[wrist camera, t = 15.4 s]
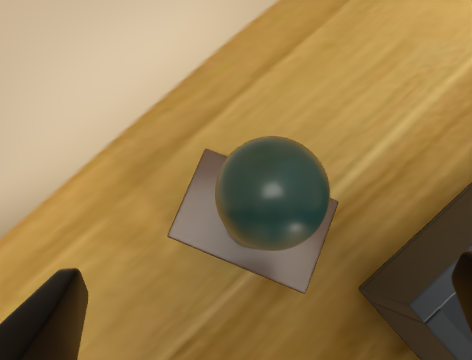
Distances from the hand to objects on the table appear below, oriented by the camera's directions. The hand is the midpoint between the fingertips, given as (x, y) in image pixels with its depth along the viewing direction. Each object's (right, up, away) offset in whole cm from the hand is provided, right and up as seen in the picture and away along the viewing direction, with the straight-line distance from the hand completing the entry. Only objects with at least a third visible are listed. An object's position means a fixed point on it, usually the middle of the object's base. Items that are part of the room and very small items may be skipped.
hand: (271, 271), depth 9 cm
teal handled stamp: (0, 0, +10) cm, 10 cm away
